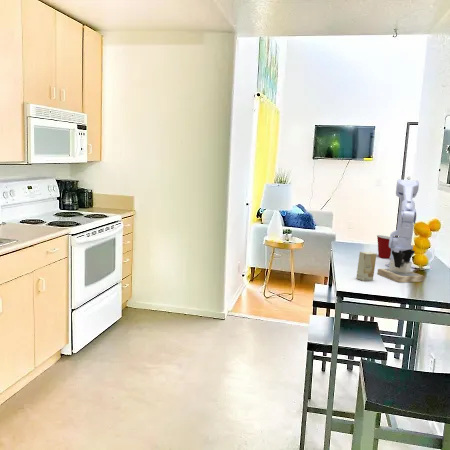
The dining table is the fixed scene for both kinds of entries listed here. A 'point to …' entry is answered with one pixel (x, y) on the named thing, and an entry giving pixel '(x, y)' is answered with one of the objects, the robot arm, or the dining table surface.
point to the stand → (400, 276)
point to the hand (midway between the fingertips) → (401, 266)
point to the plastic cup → (383, 247)
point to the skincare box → (366, 266)
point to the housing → (401, 267)
